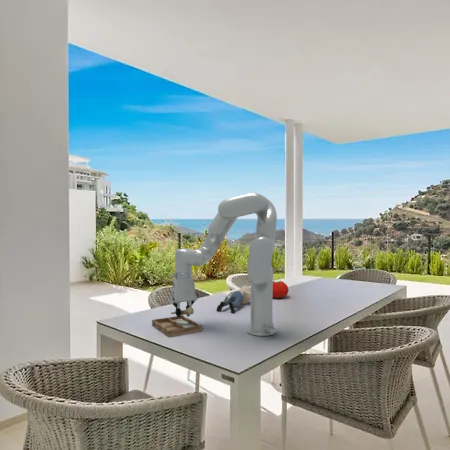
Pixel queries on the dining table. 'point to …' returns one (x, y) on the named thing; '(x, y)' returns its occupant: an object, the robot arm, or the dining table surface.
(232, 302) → the toy
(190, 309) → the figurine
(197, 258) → the robot arm
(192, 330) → the wooden compartment tray
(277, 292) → the tomato
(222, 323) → the dining table surface
